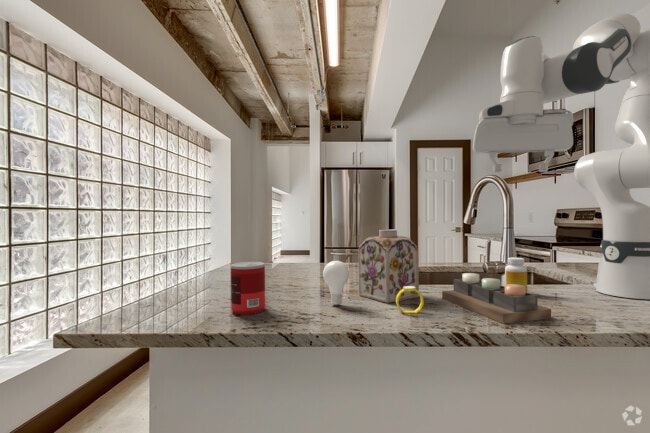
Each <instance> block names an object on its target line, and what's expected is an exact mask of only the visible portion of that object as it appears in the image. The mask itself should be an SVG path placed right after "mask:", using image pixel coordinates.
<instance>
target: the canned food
mask: <svg viewBox="0 0 650 433" xmlns="http://www.w3.org/2000/svg"><path fill="white" fill-rule="evenodd" d="M265 266H266V265H265V263H264V262H262V261H241V262H234V263H232V264H231V265H230V297H231V298H230V300H231V302H230V303H231V306H230V307H231V311H232V313H234V314H235V315H242V316H244V315H245V316H248V315H254V314H259V313H262V312H264V310H265V309H266V308H265V307H266V269H265V268H266V267H265Z"/></svg>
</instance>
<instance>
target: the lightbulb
mask: <svg viewBox="0 0 650 433" xmlns="http://www.w3.org/2000/svg"><path fill="white" fill-rule="evenodd" d="M322 276H323V280H324V281H325V283H326V285H327V286H328V291H329V293H330V303H331V304H332V305H334V306H335V307H337V306H339V305H341V304H343V301H342V300H343V299H342V297H343V291H344V288H345V285H346V284H347V283H348V280H349V278H350V270H349V267H348V266H347V265H346V263H345V262H343V261H340V260H332V261H329V262H328V263H326V264H325V266H324V268H323V271H322Z"/></svg>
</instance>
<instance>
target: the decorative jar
mask: <svg viewBox="0 0 650 433" xmlns="http://www.w3.org/2000/svg"><path fill="white" fill-rule="evenodd" d="M378 233H379V234H378V235H373V236H369V237H367V238H365V239H364V240H362V243H361V244H360V245H359V246H358V249H357V250H358V260H357V261H358V262H357V264H358V265H357V266H358V267H357V268H358V269H357V270H358V273H357V274H358V296H360V297H364V298H367V299H371V300H375V301H378V302H381V303H385V304H391V303H396V297H397V294H398V293H399V291H400V290H402V289H403V287H404V286H414V287H416V290H418V291H419V292H420V289H419V287H420V283H419V280H420V279H419V276H420V274H419V273H420V272H419V247H418V246H417V245H416V243H415V242H414V241H413V240H412V239H411V238H410V237H408V236H403V235H398V230H397V229H395V228H394V229H393V228H392V229H379V231H378ZM419 296H420V295H419V294H418V293H417V292H416V291H405V292H403V293H402V294H401V296H400V297H399V302H400V301H406V300H411V299H415V298H418V297H419Z"/></svg>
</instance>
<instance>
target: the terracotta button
mask: <svg viewBox="0 0 650 433" xmlns="http://www.w3.org/2000/svg"><path fill="white" fill-rule="evenodd" d="M504 286H505V294H507V295H510V296H513V297H515V296H525V286H523V285H518V284H506V285H505V284H504Z"/></svg>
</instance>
